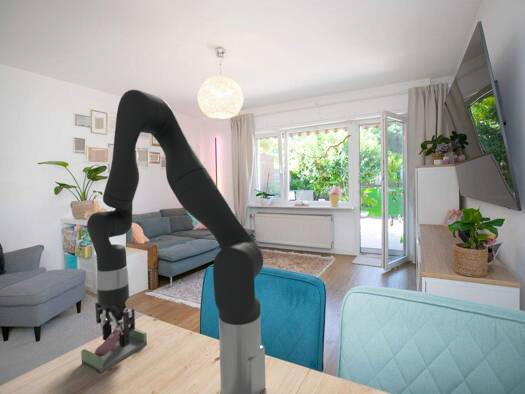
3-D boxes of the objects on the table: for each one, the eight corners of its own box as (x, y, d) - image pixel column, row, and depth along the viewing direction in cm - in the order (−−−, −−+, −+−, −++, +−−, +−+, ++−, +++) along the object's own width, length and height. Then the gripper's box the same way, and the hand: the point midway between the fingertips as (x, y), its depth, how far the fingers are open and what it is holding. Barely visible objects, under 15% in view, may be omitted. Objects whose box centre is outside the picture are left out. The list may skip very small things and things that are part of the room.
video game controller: (107, 364, 69) (117, 340, 69) (91, 356, 70) (101, 333, 69) (129, 342, 79) (138, 321, 79) (115, 335, 79) (124, 314, 79)
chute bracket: (146, 344, 79) (146, 332, 78) (100, 373, 67) (99, 359, 67) (129, 337, 82) (128, 326, 82) (81, 363, 70) (81, 350, 70)
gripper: (142, 283, 73) (145, 342, 74) (110, 275, 80) (113, 329, 81) (116, 293, 67) (119, 357, 68) (83, 284, 74) (86, 342, 74)
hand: (115, 342), depth 74 cm, fingers closed on video game controller, 7 cm apart
